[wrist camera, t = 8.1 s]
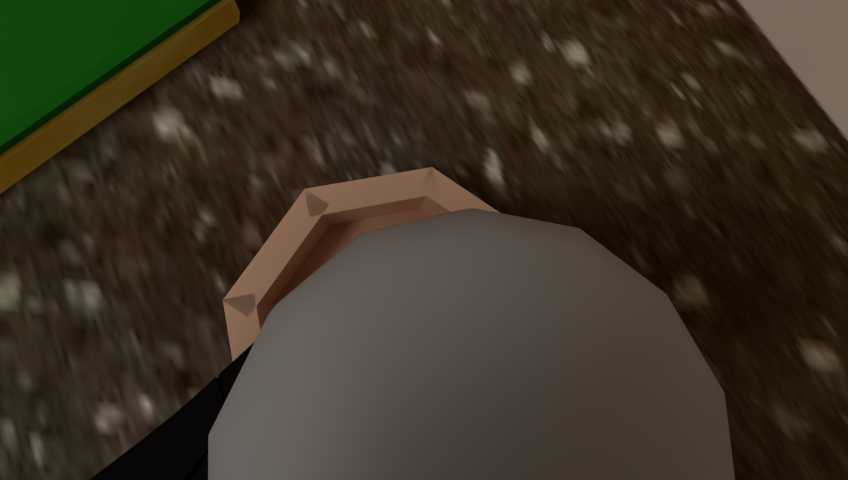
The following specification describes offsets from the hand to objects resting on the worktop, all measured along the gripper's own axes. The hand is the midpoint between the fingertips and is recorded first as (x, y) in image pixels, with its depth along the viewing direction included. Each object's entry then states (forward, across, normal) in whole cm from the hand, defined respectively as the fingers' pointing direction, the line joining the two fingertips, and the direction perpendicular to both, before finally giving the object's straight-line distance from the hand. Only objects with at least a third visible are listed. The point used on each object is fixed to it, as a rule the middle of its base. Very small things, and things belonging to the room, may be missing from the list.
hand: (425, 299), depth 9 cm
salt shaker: (+4, 0, +6) cm, 7 cm away
